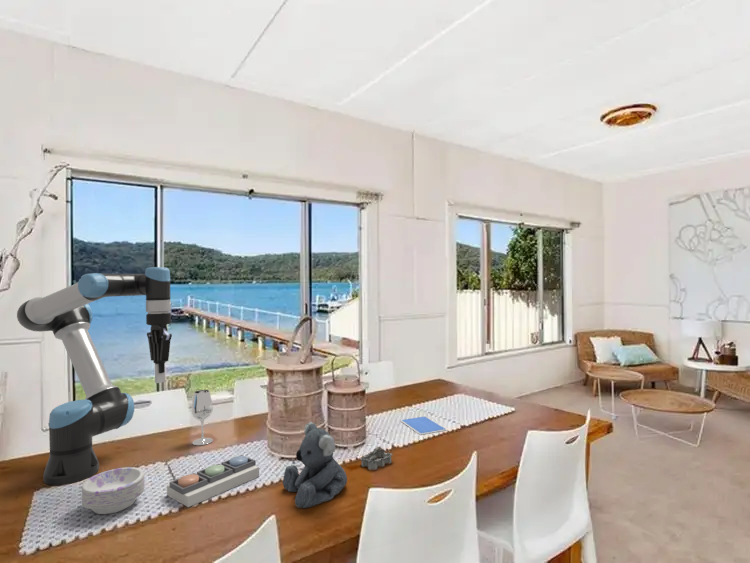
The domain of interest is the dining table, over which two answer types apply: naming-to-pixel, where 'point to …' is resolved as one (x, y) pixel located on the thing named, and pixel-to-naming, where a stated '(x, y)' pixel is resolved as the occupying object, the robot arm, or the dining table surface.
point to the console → (213, 483)
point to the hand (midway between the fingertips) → (159, 382)
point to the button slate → (238, 461)
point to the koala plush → (315, 469)
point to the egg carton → (371, 458)
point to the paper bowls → (113, 490)
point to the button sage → (214, 470)
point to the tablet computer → (423, 425)
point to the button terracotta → (188, 480)
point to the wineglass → (202, 412)
